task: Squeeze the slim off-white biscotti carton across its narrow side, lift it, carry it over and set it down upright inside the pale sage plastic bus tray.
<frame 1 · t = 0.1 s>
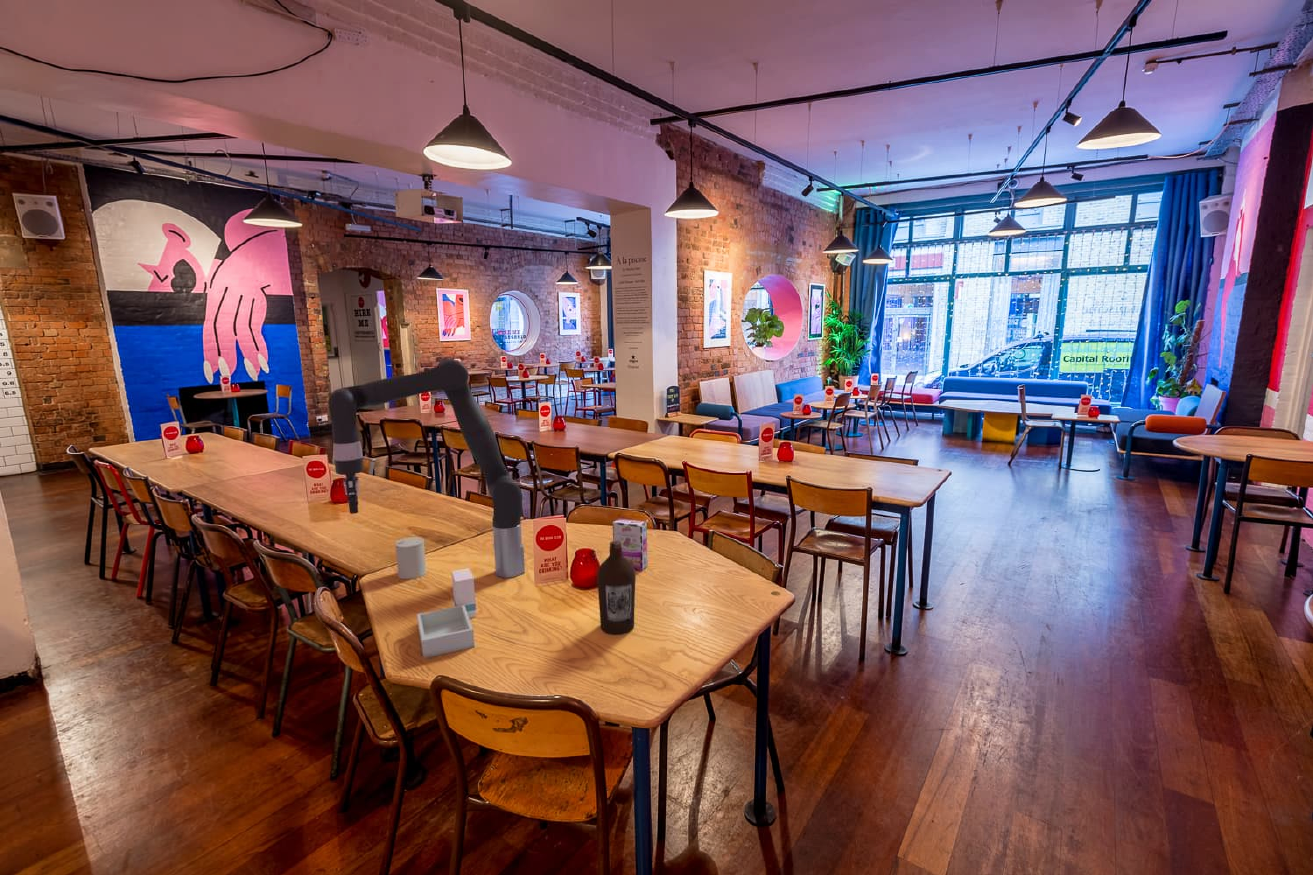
hand: (354, 509, 180), 29 cm above the table, fingers open, 8 cm apart
can: (412, 574, 205), on the table
carton: (465, 612, 177), on the table
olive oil: (617, 627, 168), on the table
candy bar box: (630, 567, 209), on the table
bus tray: (445, 638, 162), on the table
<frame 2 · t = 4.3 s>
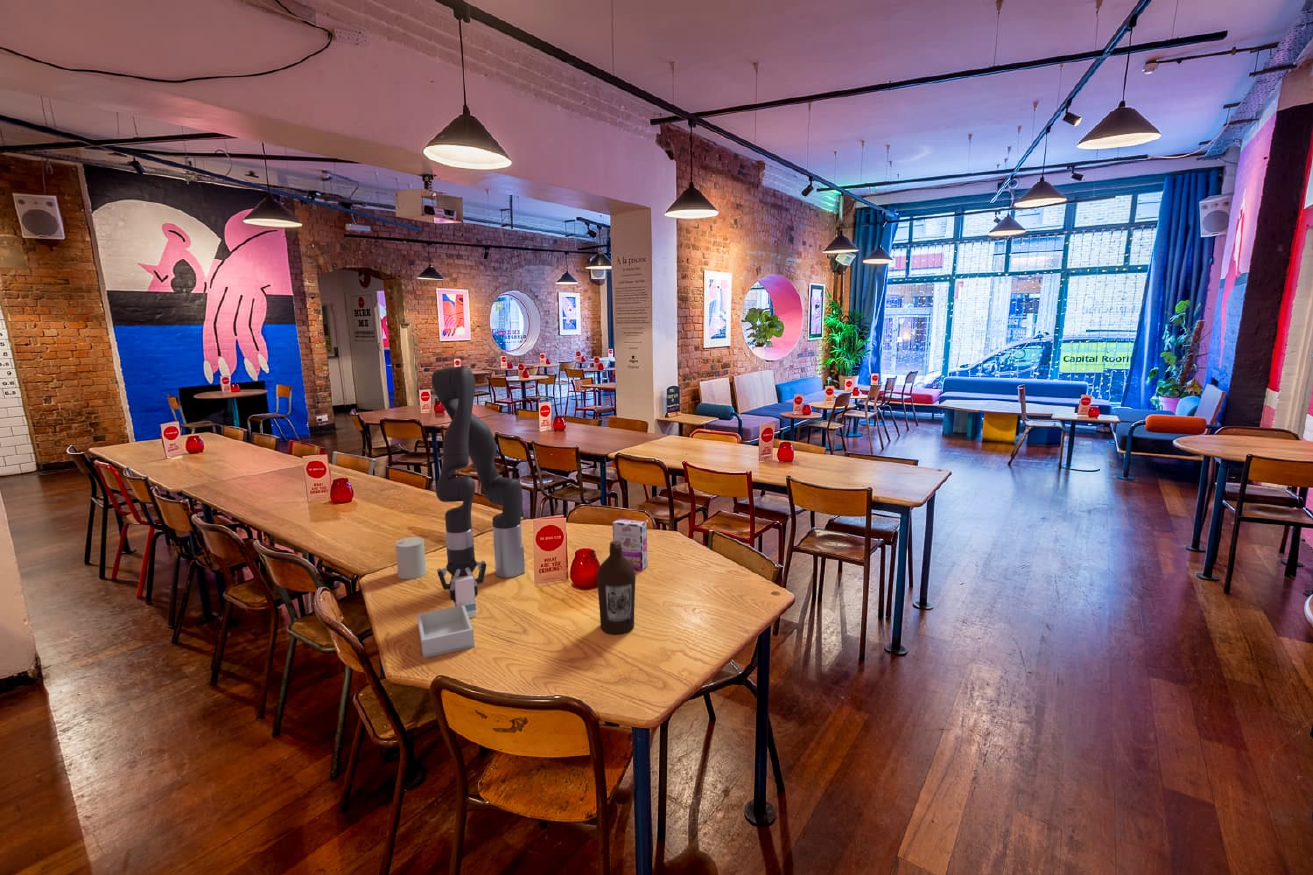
hand: (464, 598, 176), 4 cm above the table, fingers closed on carton, 5 cm apart
carton: (465, 612, 177), on the table, touching gripper
everything else where it was.
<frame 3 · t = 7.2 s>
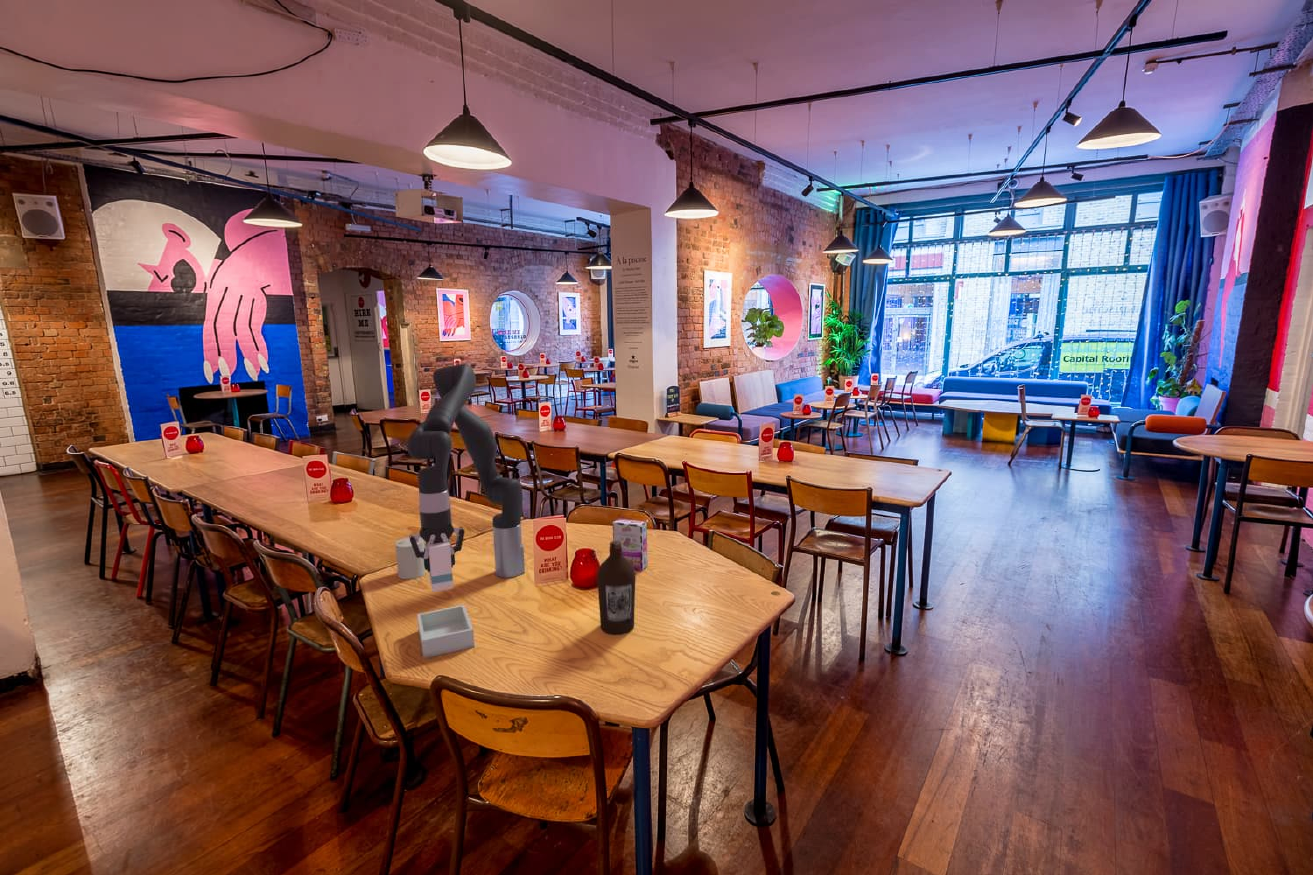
hand: (439, 568, 159), 20 cm above the table, fingers closed on carton, 5 cm apart
carton: (441, 584, 159), point 16 cm above the table, touching gripper
everything else where it was.
when the fingers open (6 cm above the table, at t = 10.0 s): carton drops 1 cm, resting on bus tray.
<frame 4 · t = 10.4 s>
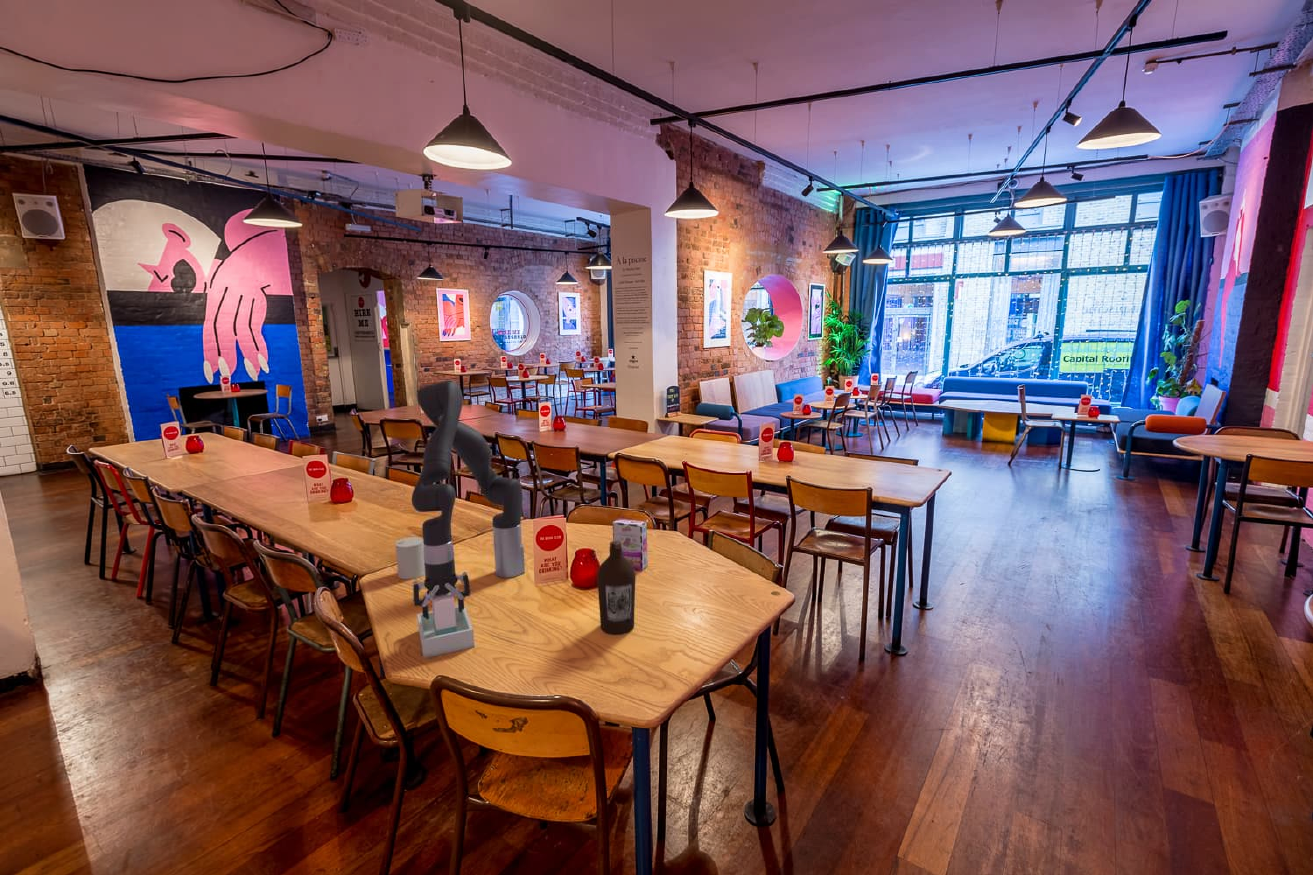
hand: (443, 614, 161), 7 cm above the table, fingers open, 8 cm apart
carton: (445, 635, 162), point 1 cm above the table, touching bus tray
everything else where it was.
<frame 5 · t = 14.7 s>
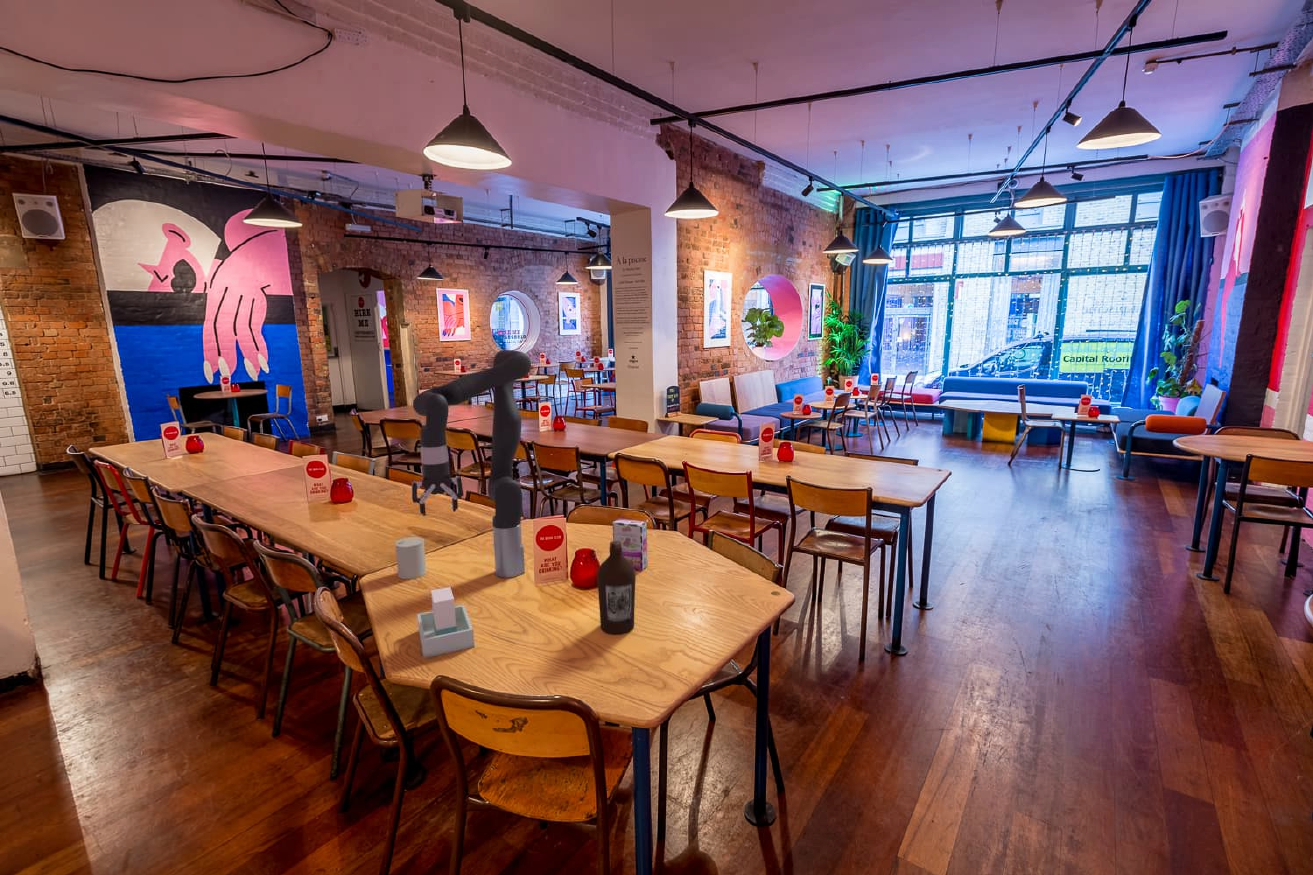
hand: (439, 512, 179), 28 cm above the table, fingers open, 8 cm apart
nothing on the table moved.
at the end: carton inside the target area on the bus tray (0.0 cm from its centre), point 0.8 cm above the bus tray's base; carton tilted 0°; the gripper is holding nothing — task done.
